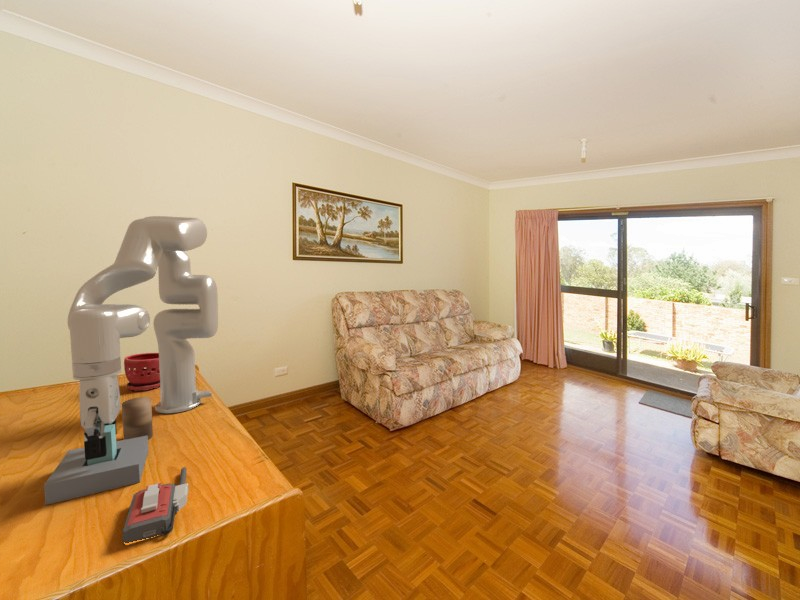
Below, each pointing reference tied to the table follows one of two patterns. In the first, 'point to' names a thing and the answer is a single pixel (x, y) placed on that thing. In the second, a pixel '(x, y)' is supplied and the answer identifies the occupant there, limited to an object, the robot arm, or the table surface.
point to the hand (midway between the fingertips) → (102, 446)
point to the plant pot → (142, 371)
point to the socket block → (96, 472)
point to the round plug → (137, 418)
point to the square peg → (110, 444)
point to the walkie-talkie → (155, 510)
